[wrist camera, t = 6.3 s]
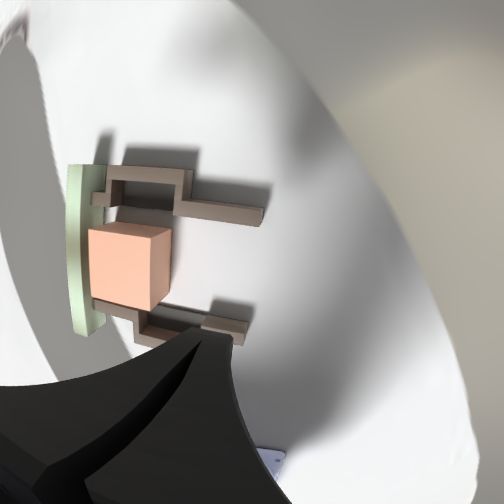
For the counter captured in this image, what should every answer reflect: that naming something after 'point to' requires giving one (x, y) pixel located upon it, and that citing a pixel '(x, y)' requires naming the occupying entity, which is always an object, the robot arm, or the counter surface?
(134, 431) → the robot arm
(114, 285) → the block
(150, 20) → the counter surface
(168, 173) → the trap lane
